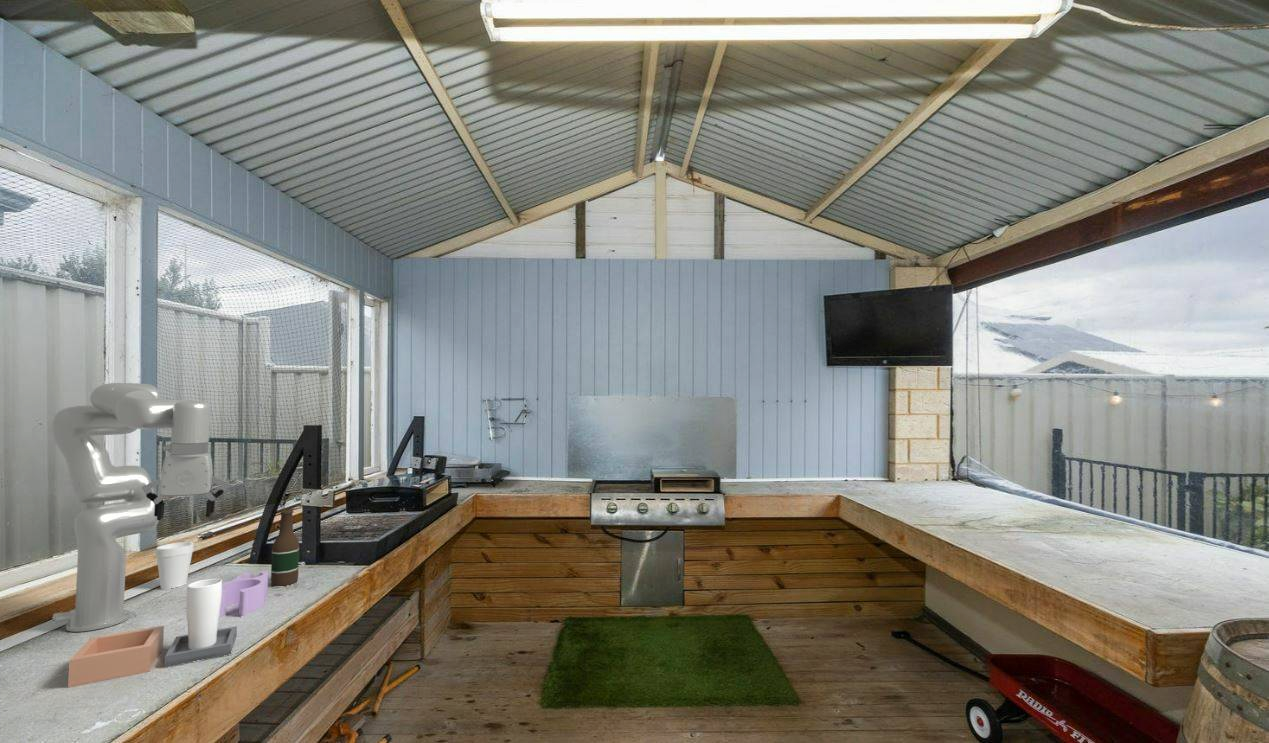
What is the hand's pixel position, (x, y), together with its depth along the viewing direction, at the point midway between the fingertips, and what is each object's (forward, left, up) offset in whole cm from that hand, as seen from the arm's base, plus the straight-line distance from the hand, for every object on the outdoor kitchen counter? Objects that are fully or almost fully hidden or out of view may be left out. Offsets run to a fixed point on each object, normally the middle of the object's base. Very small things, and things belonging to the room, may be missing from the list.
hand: (184, 517), depth 139 cm
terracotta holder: (-9, -10, -31) cm, 33 cm away
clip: (+11, +21, -31) cm, 39 cm away
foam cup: (-10, +54, -31) cm, 63 cm away
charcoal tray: (+6, -10, -31) cm, 33 cm away
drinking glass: (+6, -10, -30) cm, 32 cm away
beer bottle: (+21, +38, -31) cm, 53 cm away
